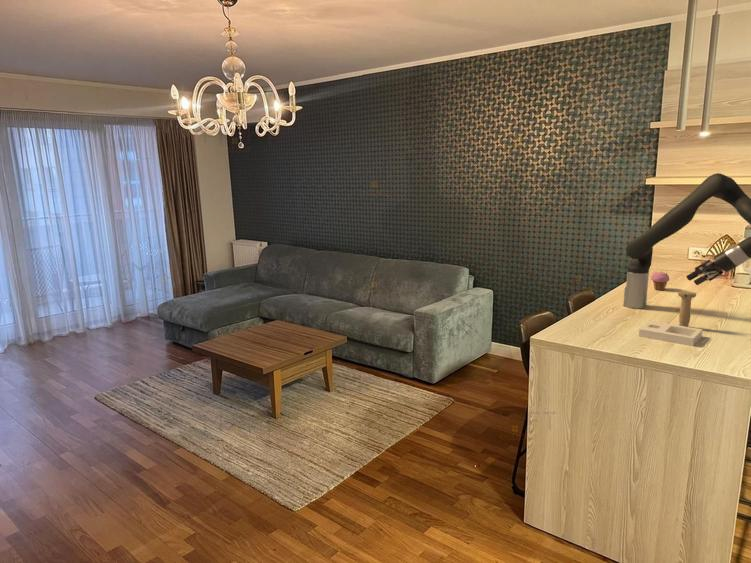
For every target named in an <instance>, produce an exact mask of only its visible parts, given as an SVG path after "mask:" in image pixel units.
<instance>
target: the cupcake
mask: <svg viewBox="0 0 751 563" xmlns="http://www.w3.org/2000/svg"><path fill="white" fill-rule="evenodd" d="M650 280H651V281H652V282H653V288H654V290H655V291H665V289H666V287H667V284H668V282H670V276H669V275H668V273H667V272H663V271H656V272H653V273H652V275H651V277H650Z"/></svg>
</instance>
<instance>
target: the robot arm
mask: <svg viewBox="0 0 751 563" xmlns="http://www.w3.org/2000/svg"><path fill="white" fill-rule="evenodd" d="M712 197H713V198H716V199H720V200H722V201H724V202H726V203H727V204H730V206H732V207H733V208H734V209H735V210H736V212H737V213H738V214H739V216H740V217H741V218H742V219H743V220H744V221H745V222H747V224H749V225H750V226H751V197H750V196H748V194H746V193H745V192H744V191H743V189H742V188H741V187H740V185H739V184H738V183H737V182H736V181H735V179H734V178H732V177H730V176H727V175H725V174H724V173H721V172H720V173H719V172H718V173H713V174H711V175H709V176H707V178H706V179H704V180H703V181H702V182H701V183H699V185H698V186H697V187H696V188H695V189H694V190H692V192H691V193H690V194H688V195H687V197H685V198H684V199H683V200H681V201H680V202H679V203H677V205H676V206H674V207H673V208H671V209H670V210H669V211H668V212H667V213H665V214H664V215H663V216H661V217H660V218H659V219H658V220H657V221H656V222H655V223H654V224H653V225H652V226H650V227H649V228H648V229H647V230H645V231H644V232H643V233H642V234H640V235H638V236H637V237H635V238H633V239H632V240H631V241H629V242H628V243H627V245H626V247H625V252H626V255H627V256H628V257H629V258H630V259H631V260H630V262H629V263H628V266H627V272H626V286H624V290H623V293H624V294H623V306H624V307H627V308H629V309H645V308H647V301H648V300H647V299H648V290H649V289H648V287H649V276H650V274H649V273H650V268H651V266H652V260H653V248H654V247H655V245H657V244H658V243H660V242H661V241H663V240H665V239H667V238H669V237H671V236H672V235H674V234H676V233H677V232H679V231H680V230H682V229H683V228H684V227H686V226H687V225H688V224H689V223H690V222H692V220H693V219H694V217H695V215H696V213H697V211H698V210H699V208H700V207H701V205H703V204H704V203H705V202H707V201H708V200H710V199H711V198H712ZM750 259H751V236H748V237H747V238H745V239H743V240H741V241H739V242H738V243H736V244H734V245H732V246H730V247H728V248H727V249H726V248H725V250H723V251H721V252H720V253H718V254H716V255H714V256H713V260H714V261H711V260H707V261H705V262H703V263H702V264H700V265H697V266H695V268H694V271H692V272H691V273H688V274H687V275H686V279H687V280H688V281H692V280H693V282H694V284H695V286H699V285H700V284H702V283H704V282H708V281H709V282H711V281H713V280H714V279H716V278H718V277H720V276H721V275H722V274H724V272H725V273H729V272H730V271H732V270H733V269H735V268H737V267H739V266H741V265H742V264H744V263H745V262H747V261H748V260H750ZM699 276H700V277H699ZM697 277H698V278H697ZM695 278H696V279H695Z"/></svg>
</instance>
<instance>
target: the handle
mask: <svg viewBox="0 0 751 563" xmlns="http://www.w3.org/2000/svg"><path fill="white" fill-rule="evenodd" d="M677 296H679V297H681V303H680V309H679V313H678V315H679V316H678V319H679V320H678V321H679V325H678V326H685V327H689V324H690V320H691V314H692V313H691V312H692V310H691V309H692V308H691V307H692V299H694V298H696V296H697V293H696V292H695V291H686V290H683V291H682V290H679V291H677Z"/></svg>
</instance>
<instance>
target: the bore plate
mask: <svg viewBox="0 0 751 563" xmlns="http://www.w3.org/2000/svg"><path fill="white" fill-rule="evenodd" d="M638 331H639V332H638V337H642V338H647V339H653V340H658V341H664V342H668V343H674V344H679V345H683V346H684V345H685V346H689V347H690V346H691V347H694V345H695V344H697V342H698V341H699V340H700V339H701V338H702V337H703V329H702V328H698V327H697V328H695V327H690V326H688V327H685V326H679V325H677V324H671V323H666V322H665V323H664V322H660V321H659V322H658V321H653V320H650V321H648V322H647V323H645V325H643V326H641V328H639V330H638Z"/></svg>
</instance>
